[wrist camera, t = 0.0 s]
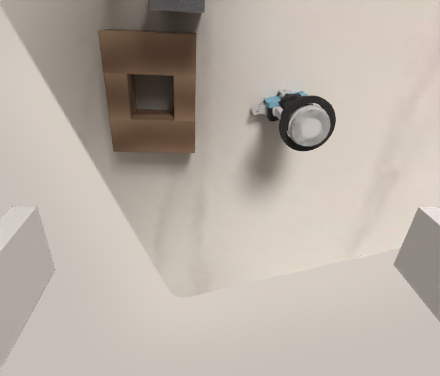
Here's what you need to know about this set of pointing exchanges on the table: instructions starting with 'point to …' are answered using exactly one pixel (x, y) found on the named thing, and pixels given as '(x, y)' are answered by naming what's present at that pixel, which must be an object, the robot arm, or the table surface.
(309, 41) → the table surface
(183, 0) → the square bar bit
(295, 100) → the push button
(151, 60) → the socket block
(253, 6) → the table surface
